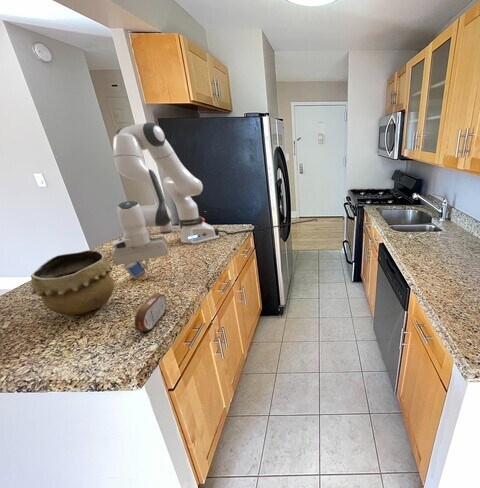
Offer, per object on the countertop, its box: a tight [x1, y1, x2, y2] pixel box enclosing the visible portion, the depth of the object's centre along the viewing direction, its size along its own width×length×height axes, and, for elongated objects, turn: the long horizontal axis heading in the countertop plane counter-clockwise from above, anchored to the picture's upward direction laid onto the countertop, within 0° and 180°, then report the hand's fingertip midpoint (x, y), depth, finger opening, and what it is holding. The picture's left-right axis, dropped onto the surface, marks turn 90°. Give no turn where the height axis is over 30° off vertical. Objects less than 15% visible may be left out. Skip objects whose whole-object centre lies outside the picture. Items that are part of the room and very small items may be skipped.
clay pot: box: [30, 249, 115, 316], centre depth 91 cm, size 21×21×20 cm
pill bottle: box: [123, 261, 147, 280], centre depth 115 cm, size 6×5×10 cm
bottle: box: [153, 202, 172, 234], centre depth 171 cm, size 7×7×30 cm
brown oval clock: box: [134, 293, 167, 332], centre depth 87 cm, size 15×3×8 cm, turn 5°
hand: (145, 268), depth 117 cm, fingers closed
